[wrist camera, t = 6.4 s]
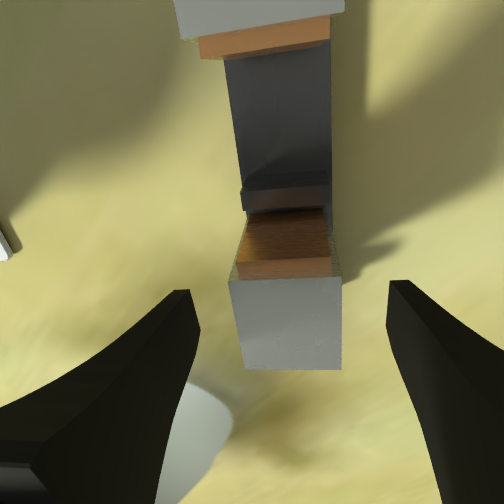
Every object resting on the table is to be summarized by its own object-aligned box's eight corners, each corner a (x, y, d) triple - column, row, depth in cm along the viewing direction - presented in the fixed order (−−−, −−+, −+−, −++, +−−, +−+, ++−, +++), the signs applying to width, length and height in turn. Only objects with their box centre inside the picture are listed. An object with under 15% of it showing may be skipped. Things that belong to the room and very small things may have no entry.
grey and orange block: (260, 278, 17) (245, 369, 12) (249, 200, 15) (225, 270, 10) (327, 275, 17) (341, 369, 12) (325, 194, 15) (341, 265, 10)
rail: (330, 290, 19) (349, 406, 13) (262, 292, 20) (246, 404, 13) (323, -169, 10) (369, -545, 4) (202, -138, 11) (73, -417, 5)
